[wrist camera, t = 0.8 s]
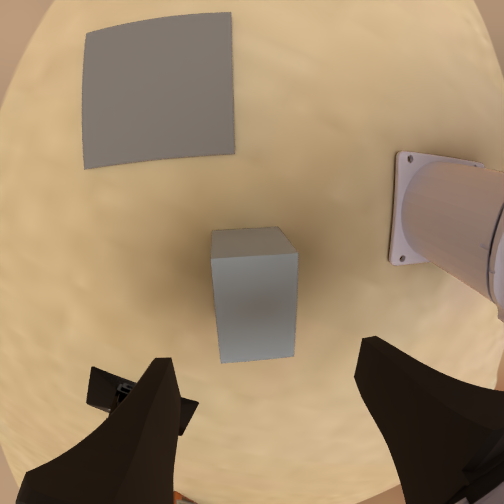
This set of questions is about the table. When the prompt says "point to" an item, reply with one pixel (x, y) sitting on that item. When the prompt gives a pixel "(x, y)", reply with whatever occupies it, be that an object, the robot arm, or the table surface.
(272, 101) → the table surface
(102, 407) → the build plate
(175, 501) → the milk carton
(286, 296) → the brick
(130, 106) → the mat
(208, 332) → the table surface
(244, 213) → the table surface
